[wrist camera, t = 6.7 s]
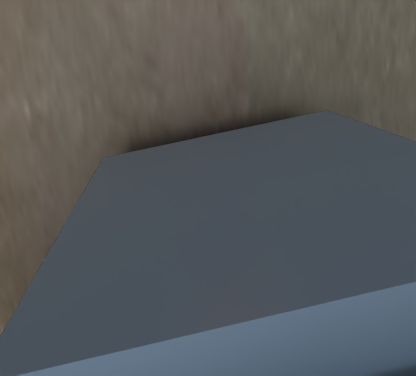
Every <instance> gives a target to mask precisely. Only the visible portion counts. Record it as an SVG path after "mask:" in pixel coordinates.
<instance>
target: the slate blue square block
mask: <svg viewBox="0 0 416 376" xmlns="http://www.w3.org/2000/svg"><path fill="white" fill-rule="evenodd" d="M0 376H416V142H415V141H412V140H409V139H407V138H404V137H401V136H398V135H395V134H392V133H390V132H387V131H384V130H381V129H378V128H375V127H372V126H370V125H367V124H364V123H361V122H358V121H355V120H353V119H350V118H347V117H344V116H341V115H338V114H335V113H333V112H330V111H327V110H326V111H321V112H316V113H312V114H307V115H302V116H298V117H293V118H288V119H283V120H279V121H274V122H269V123H265V124H260V125H255V126H250V127H246V128H241V129H236V130H232V131H227V132H222V133H218V134H213V135H208V136H203V137H199V138H194V139H189V140H185V141H180V142H175V143H170V144H166V145H161V146H156V147H152V148H147V149H142V150H138V151H133V152H128V153H123V154H119V155H114V156H109V157H105V158H103V159H102V161H101V162H100V164H99V166H98V168H97V169H96V171H95V173H94V175H93V176H92V178H91V180H90V182H89V183H88V185H87V187H86V189H85V190H84V192H83V194H82V195H81V197H80V199H79V201H78V202H77V204H76V206H75V208H74V209H73V211H72V213H71V215H70V216H69V218H68V220H67V222H66V223H65V225H64V227H63V229H62V230H61V232H60V234H59V235H58V237H57V239H56V241H55V242H54V244H53V246H52V248H51V249H50V251H49V253H48V255H47V256H46V258H45V260H44V262H43V263H42V265H41V267H40V268H39V270H38V272H37V274H36V275H35V277H34V279H33V281H32V282H31V284H30V286H29V288H28V289H27V291H26V293H25V295H24V296H23V298H22V300H21V301H20V303H19V305H18V307H17V308H16V310H15V312H14V314H13V315H12V317H11V319H10V321H9V322H8V324H7V326H6V328H5V329H4V331H3V333H2V334H1V336H0Z"/></svg>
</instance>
